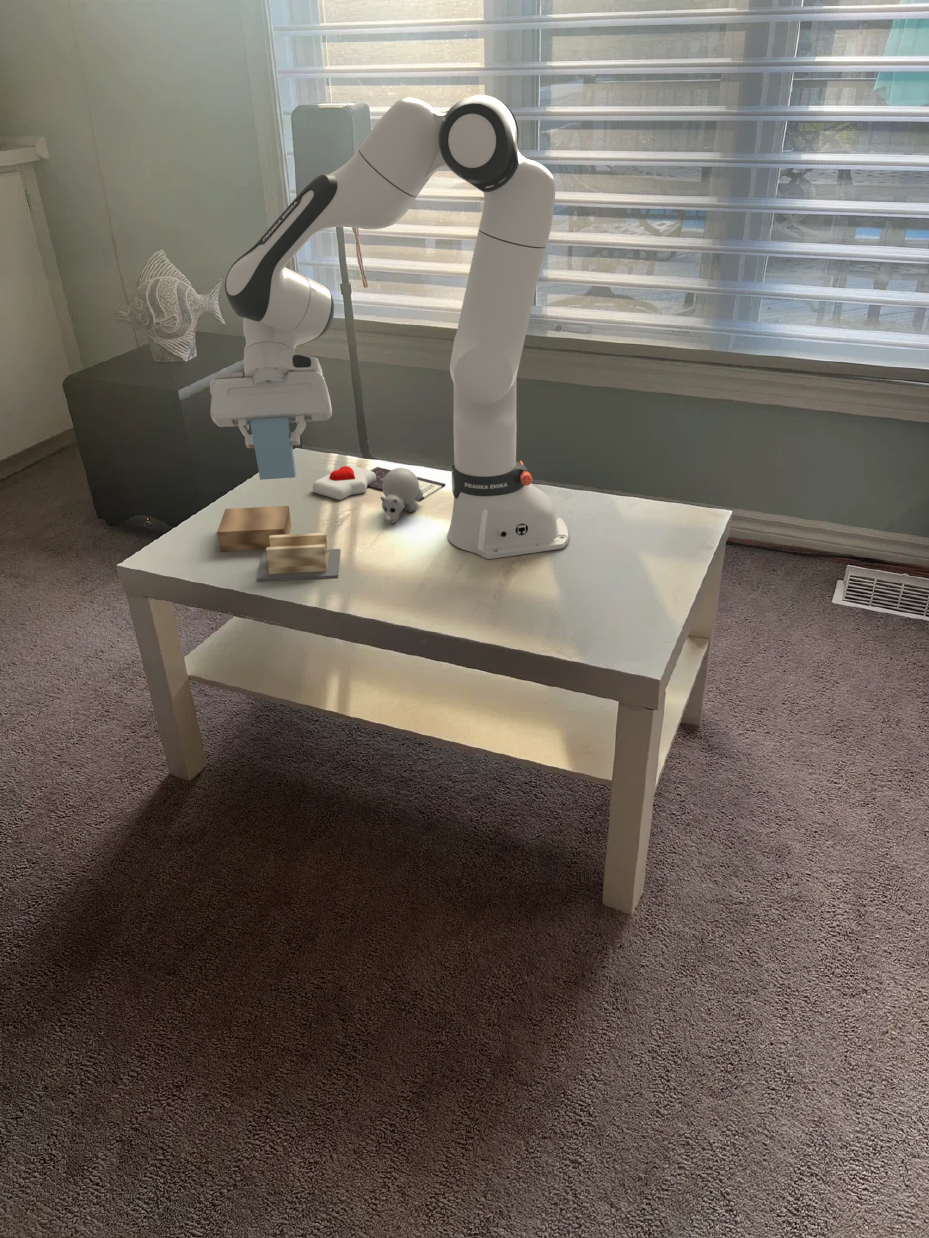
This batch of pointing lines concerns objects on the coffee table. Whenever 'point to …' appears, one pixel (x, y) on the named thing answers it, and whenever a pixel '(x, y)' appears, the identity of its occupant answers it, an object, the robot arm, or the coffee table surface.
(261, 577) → the mat
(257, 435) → the pale blue rectangular prism
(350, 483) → the icon
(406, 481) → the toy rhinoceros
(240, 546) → the block
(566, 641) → the coffee table surface
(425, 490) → the chocolate bar
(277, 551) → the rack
